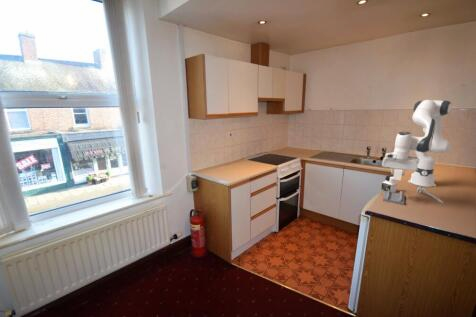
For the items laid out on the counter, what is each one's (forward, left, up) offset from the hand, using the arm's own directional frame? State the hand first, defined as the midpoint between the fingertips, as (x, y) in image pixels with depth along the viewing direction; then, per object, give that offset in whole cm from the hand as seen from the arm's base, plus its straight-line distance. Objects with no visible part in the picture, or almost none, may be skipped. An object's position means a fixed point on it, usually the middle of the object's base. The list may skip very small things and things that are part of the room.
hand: (397, 174), depth 158 cm
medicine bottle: (-15, -4, -18) cm, 24 cm away
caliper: (-18, +21, -18) cm, 33 cm away
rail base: (0, 0, -18) cm, 18 cm away
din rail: (0, 0, -16) cm, 16 cm away
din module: (0, 0, -3) cm, 3 cm away
